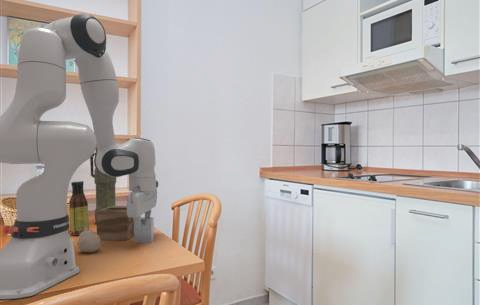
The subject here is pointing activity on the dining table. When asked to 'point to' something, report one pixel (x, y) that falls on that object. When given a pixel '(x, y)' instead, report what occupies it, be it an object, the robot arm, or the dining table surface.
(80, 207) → the sauce bottle
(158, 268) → the dining table surface
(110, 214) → the striped wooden crate
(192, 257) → the dining table surface
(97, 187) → the thermos
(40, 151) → the robot arm
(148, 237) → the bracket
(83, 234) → the garlic bulb
